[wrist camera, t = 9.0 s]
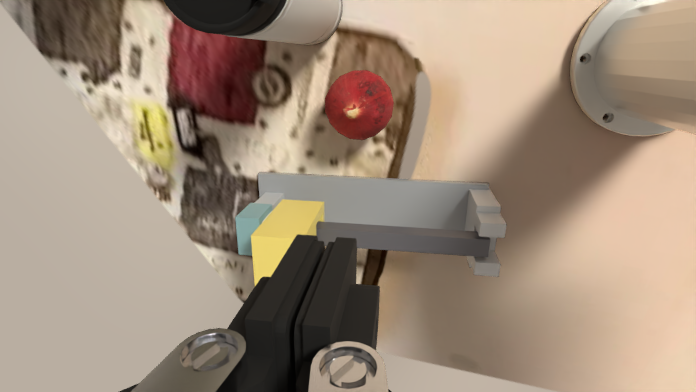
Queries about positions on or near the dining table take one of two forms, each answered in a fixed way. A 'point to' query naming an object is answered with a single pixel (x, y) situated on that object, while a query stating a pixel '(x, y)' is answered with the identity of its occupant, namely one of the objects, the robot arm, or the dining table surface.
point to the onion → (359, 104)
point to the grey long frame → (389, 214)
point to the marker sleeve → (282, 233)
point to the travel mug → (262, 18)
